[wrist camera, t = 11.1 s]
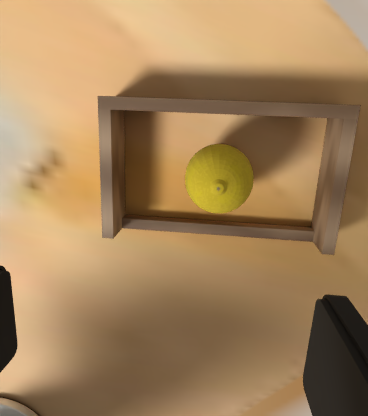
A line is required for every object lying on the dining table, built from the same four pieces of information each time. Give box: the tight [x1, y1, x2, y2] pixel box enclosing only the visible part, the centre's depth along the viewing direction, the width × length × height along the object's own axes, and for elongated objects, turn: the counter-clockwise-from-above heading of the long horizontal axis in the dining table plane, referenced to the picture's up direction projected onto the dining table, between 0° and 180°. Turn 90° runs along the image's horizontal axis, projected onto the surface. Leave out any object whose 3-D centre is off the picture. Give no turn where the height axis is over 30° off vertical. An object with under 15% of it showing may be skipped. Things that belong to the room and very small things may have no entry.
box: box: [98, 96, 361, 255], centre depth 29 cm, size 12×20×4 cm, turn 88°
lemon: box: [185, 144, 254, 213], centre depth 27 cm, size 6×6×8 cm
